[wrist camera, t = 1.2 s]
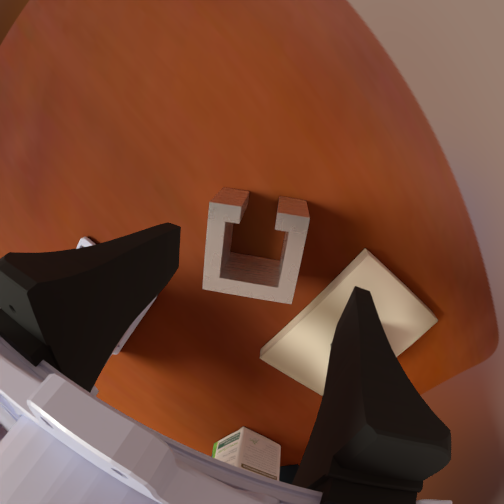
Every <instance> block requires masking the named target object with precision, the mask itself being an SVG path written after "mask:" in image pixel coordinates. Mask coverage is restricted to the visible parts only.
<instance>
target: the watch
mask: <svg viewBox="0 0 504 504" xmlns="http://www.w3.org/2000/svg"><path fill="white" fill-rule="evenodd" d="M298 468H299V465H298V464H296V465H288V466H280V473H279V481H281V482H284V483H288V484H292V482H293V480H294V477H295V475H296V473H297V470H298Z"/></svg>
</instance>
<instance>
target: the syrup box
mask: <svg viewBox="0 0 504 504" xmlns="http://www.w3.org/2000/svg"><path fill="white" fill-rule="evenodd" d="M280 454H281V446H280V445H279V444H277V443H276V442H274V441H272V440H270V439H268V438H266V437H264V436H262V435H260V434H258V433H256V432H254V431H252V430H250V429H248V428H246V427H242V428H240V430H238V431H236V432H234V433H232V434H230V435H228V436H226V437H225V438H223V439H221V440H219V441H218V442H216V443H214V447H213V451H212V456H211V457H213V458H215V459H218V460H220V461H223V462H225V463H228V464H231V465H233V466H236V467H239V468H241V469H244V470H247V471H250V472H253V473H256V474H259V475H262V476H265V477H268V478H271V479H274V480H277V481H279V473H280Z"/></svg>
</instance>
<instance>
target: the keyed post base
mask: <svg viewBox="0 0 504 504" xmlns="http://www.w3.org/2000/svg"><path fill="white" fill-rule="evenodd" d="M355 286H357V287H360V288H363V289H366V290H368V291H370V293H371V295H372V298H373V301H374V304H375V307H376V310H377V313H378V316H379V318H380V321H381V324H382V326H383V329H384V331H385V334H386V336H387V339H388V341H389V343H390V345H391V348H392V350H393V352H394V354H395V356H396V357H397V356H399V355H400V354H401V353H402V352H403V351H405V350H406V349H407V348H408V347H409V346H410V345H412V344H413V343H414V342H415V341H416V340H417V339H418V338H420V337H421V336H422V335H423V334H424V333H425V332H426V331H427V330H429V329H430V328H431V327H432V326H433V325H434V324H435V323H436V322H437V321H438V319H437V318H436V316H435V315H434V313H433V312H432V311H431V310H430V309H429V308H428V307H427V306H426V305H425V304H424V303H423V302H422V301H421V300H420V299H419V298H418V297H417V296H416V295H415V294H414V293H413V292H412V291H411V290H410V289H409V288H408V287H407V286H406V285H405V284H404V283H403V282H401V281H400V280H399V279H398V278H397V277H396V276H395V275H394V274H393V273H392V272H391V271H390V270H389V269H388V268H387V267H386V266H384V265H383V264H382V263H381V262H380V261H379V260H378V259H377V258H376V257H375V256H374V255H372V254H371V253H370V252H369V251H368V250H367V249H366V248H364V250H363V251H362V252H361V253H360V254H359V255H358V256H357V257H356V258H355V259H354V260H353V261H352V262H351V263H350V264H349V265H348V266H347V267H346V268H345V269H344V270H343V271H342V272H341V273H340V274H339V275H338V276H337V277H336V278H335V279H334V280H333V281H332V282H331V283H330V284H329V285H328V286H327V287H326V288H325V289H324V290H323V291H322V292H321V293H320V294H319V295H318V296H317V297H316V298H315V299H314V300H313V301H312V302H311V303H310V304H309V305H308V306H307V307H305V308H304V309H303V310H302V311H301V312H300V313H299V314H298V315H297V316H296V317H295V318H294V319H293V320H292V321H291V322H290V323H289V324H287V325H286V326H285V327H284V328H283V329H282V330H281V331H280V332H279V333H278V334H277V335H276V336H274V337H273V338H272V339H271V340H270V341H269V342H268V343H267V344H266V345H265V346H263V347H262V348H261V350H260V359H262V360H263V361H265V362H266V363H268V364H270V365H271V366H273V367H274V368H276V369H278V370H279V371H281V372H283V373H284V374H286V375H288V376H289V377H291V378H293V379H294V380H296V381H298V382H299V383H301V384H303V385H305V386H306V387H308V388H310V389H311V390H313V391H315V392H317V393H318V394H320V395H322V396H323V393H324V387H325V381H326V375H327V369H328V363H329V356H330V350H331V344H332V341H333V337H334V333H335V330H336V326H337V323H338V321H339V319H340V317H341V315H342V313H343V310H344V308H345V306H346V304H347V302H348V300H349V298H350V296H351V293H352V291H353V289H354V287H355Z"/></svg>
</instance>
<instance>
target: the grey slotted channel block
mask: <svg viewBox="0 0 504 504" xmlns="http://www.w3.org/2000/svg"><path fill="white" fill-rule="evenodd" d="M249 192H250V191H245V190H238V189H231V188H224V187H223V188H222V189H221V190H220V191H219V192H218V193H217V194H216V196H215V197H214V198H213V199H212V200H211V201H210V202H209V213H208V224H207V236H206V248H205V261H204V274H203V289H205V290H211V291H216V292H222V293H227V294H233V295H239V296H244V297H250V298H256V299H262V300H268V301H275V302H281V303H287V304H292V300H293V295H294V291H295V287H296V282H297V278H298V273H299V269H300V264H301V259H302V255H303V250H304V245H305V240H306V235H307V230H308V226H309V221H310V216H309V211H308V207H307V202H306V200H301V199H295V198H289V197H283V196H279V202H278V208H277V215H276V224H275V230H281V231H285V237H284V242H283V247H282V253H281V258H280V260H276V259H270V258H264V257H258V256H251V255H245V254H239V253H233V252H230V251H231V242H232V233H233V225H234V223H237V224H239V223H240V221H241V219H242V217H243V215H244V212H245V210H246V208H247V206H248V200H249Z"/></svg>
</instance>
